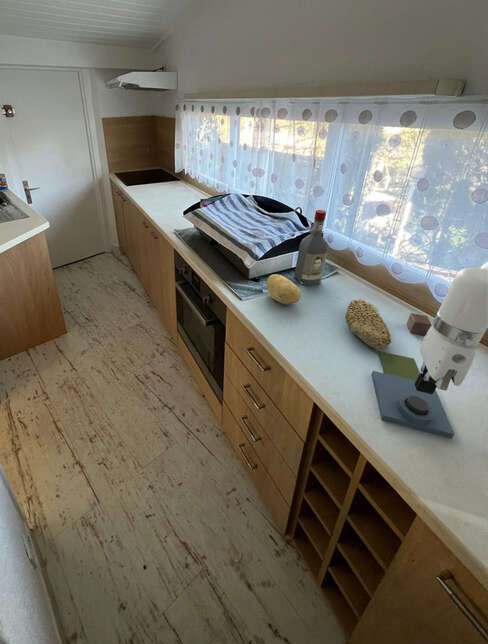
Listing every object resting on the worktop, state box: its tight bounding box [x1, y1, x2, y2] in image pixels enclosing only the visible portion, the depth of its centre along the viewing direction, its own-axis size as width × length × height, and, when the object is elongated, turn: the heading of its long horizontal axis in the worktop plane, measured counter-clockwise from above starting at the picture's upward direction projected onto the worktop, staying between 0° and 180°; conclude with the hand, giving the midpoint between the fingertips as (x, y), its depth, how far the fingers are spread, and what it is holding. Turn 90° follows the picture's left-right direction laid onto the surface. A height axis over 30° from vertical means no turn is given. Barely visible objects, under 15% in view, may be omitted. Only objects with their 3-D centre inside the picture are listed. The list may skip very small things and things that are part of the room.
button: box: [406, 396, 428, 415], centre depth 72 cm, size 4×4×2 cm
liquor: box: [293, 209, 329, 287], centre depth 121 cm, size 9×9×30 cm
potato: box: [266, 273, 302, 306], centre depth 113 cm, size 10×14×10 cm
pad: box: [378, 350, 421, 380], centre depth 86 cm, size 9×9×1 cm
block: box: [406, 312, 432, 336], centre depth 99 cm, size 5×5×5 cm
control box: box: [371, 370, 456, 439], centre depth 76 cm, size 14×14×4 cm
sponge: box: [345, 298, 392, 350], centre depth 98 cm, size 13×8×20 cm
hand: (423, 389), depth 69 cm, fingers closed
